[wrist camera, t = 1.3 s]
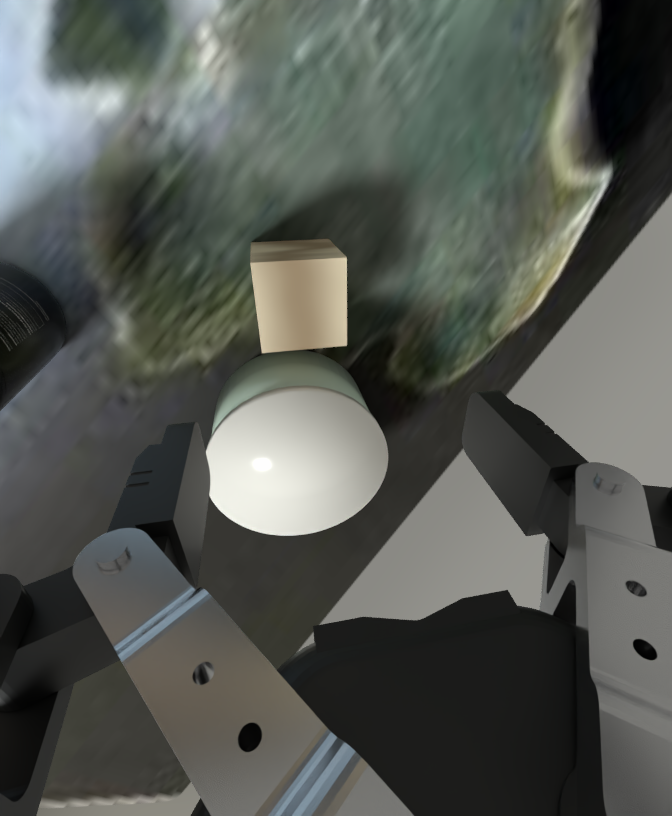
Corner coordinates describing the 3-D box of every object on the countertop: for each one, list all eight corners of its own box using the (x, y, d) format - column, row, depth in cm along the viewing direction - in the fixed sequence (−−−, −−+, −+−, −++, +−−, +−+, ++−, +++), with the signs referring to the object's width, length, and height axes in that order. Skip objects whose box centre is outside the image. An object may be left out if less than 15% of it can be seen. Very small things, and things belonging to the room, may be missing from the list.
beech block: (328, 238, 26) (346, 257, 21) (330, 313, 28) (347, 345, 23) (250, 242, 25) (250, 262, 20) (260, 318, 28) (261, 353, 23)
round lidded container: (366, 339, 30) (393, 382, 24) (363, 465, 37) (383, 522, 31) (198, 353, 28) (184, 403, 22) (226, 482, 35) (221, 546, 29)
